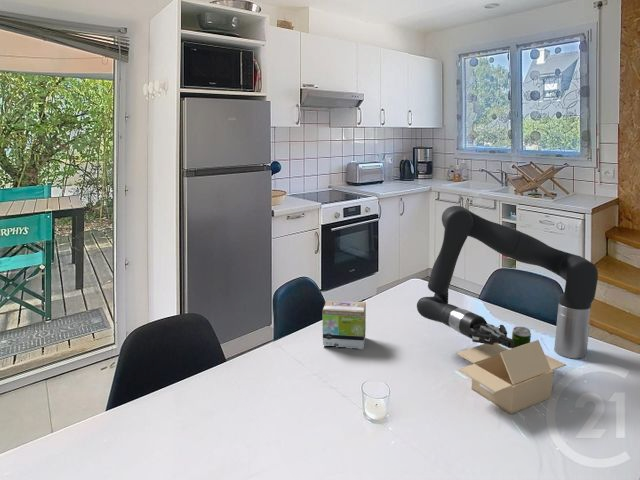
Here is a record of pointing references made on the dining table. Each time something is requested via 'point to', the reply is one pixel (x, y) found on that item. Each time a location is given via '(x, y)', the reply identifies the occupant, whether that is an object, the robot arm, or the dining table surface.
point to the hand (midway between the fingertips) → (512, 344)
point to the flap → (525, 361)
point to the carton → (505, 379)
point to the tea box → (344, 324)
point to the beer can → (521, 336)
